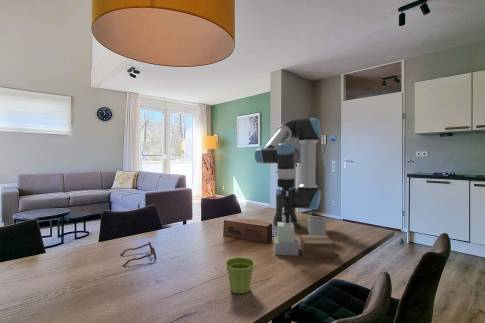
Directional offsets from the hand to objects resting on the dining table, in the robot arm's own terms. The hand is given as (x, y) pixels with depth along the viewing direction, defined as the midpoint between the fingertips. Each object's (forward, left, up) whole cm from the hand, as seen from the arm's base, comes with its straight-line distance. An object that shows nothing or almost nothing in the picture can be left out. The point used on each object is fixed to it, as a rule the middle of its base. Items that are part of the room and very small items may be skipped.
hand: (286, 225), depth 117 cm
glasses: (+14, -63, -12) cm, 65 cm away
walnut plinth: (+1, +13, -11) cm, 17 cm away
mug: (-18, +16, -12) cm, 26 cm away
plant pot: (+35, -17, -12) cm, 41 cm away
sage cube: (0, 0, -6) cm, 6 cm away
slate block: (0, 0, -11) cm, 11 cm away
